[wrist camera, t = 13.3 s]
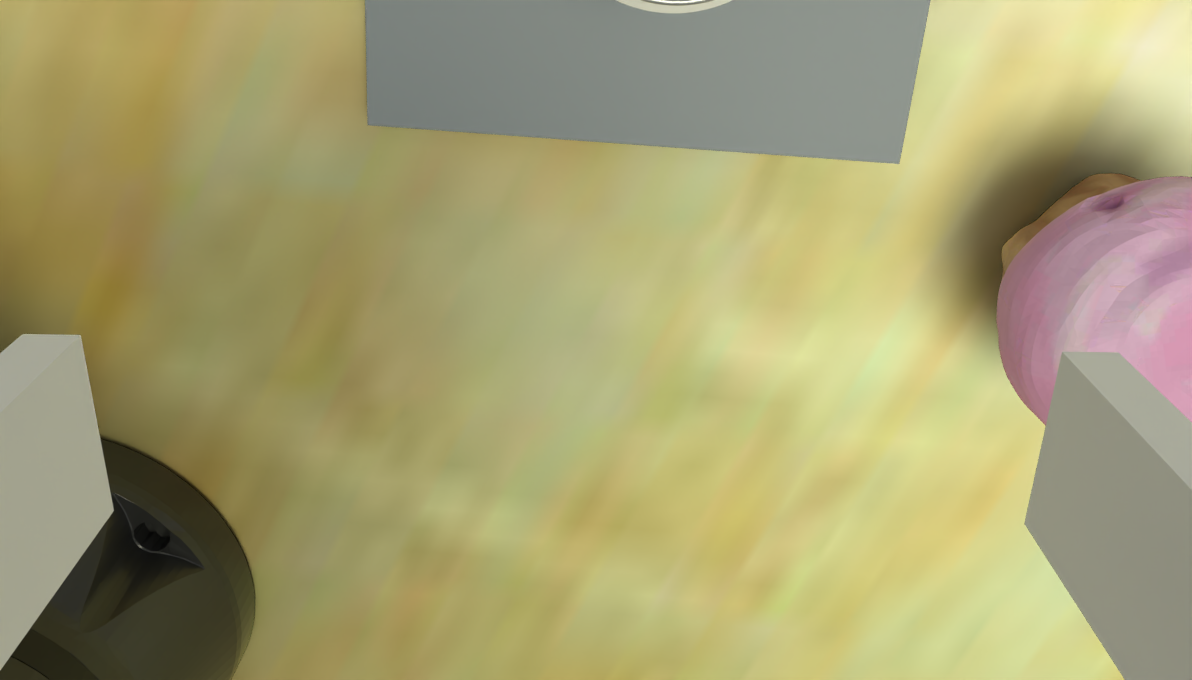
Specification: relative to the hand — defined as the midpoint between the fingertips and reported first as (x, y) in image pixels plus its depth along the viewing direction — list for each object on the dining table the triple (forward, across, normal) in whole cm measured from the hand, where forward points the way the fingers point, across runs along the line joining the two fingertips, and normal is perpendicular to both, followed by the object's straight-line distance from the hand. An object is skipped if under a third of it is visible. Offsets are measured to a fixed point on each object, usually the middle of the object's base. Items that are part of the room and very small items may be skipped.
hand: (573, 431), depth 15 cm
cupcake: (+24, +18, -6) cm, 31 cm away
